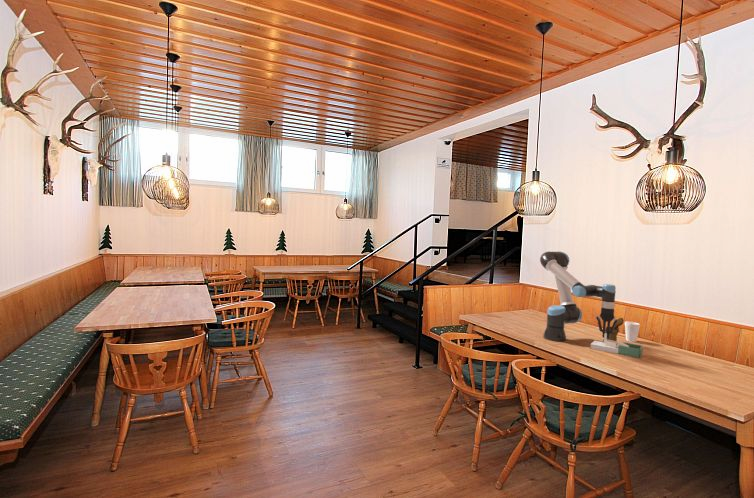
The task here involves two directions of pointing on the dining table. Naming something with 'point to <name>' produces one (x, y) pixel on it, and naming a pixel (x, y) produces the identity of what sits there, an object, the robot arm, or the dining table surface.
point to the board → (603, 347)
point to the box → (630, 350)
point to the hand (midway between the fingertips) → (605, 342)
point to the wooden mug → (614, 334)
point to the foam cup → (631, 331)
